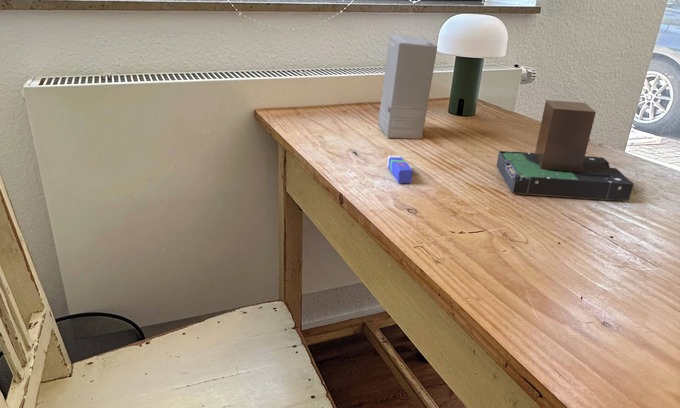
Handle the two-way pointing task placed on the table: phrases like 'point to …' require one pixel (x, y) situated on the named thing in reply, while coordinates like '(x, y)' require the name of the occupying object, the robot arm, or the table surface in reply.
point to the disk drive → (563, 178)
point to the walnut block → (564, 135)
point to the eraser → (399, 169)
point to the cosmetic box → (406, 86)
